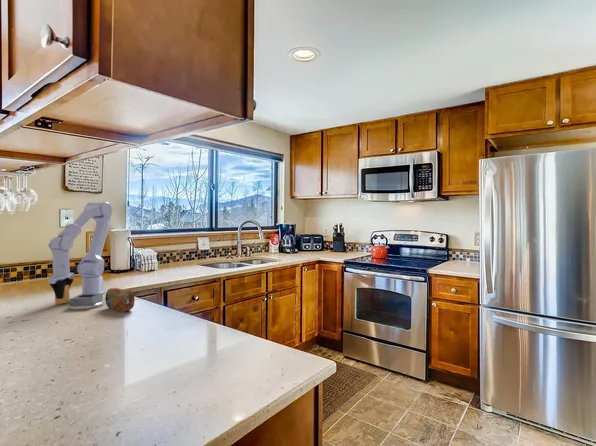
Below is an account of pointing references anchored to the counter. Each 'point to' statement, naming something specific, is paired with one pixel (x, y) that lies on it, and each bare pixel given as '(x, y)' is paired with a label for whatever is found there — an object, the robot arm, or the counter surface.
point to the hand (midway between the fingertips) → (62, 297)
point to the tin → (119, 299)
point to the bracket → (86, 301)
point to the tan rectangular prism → (64, 296)
